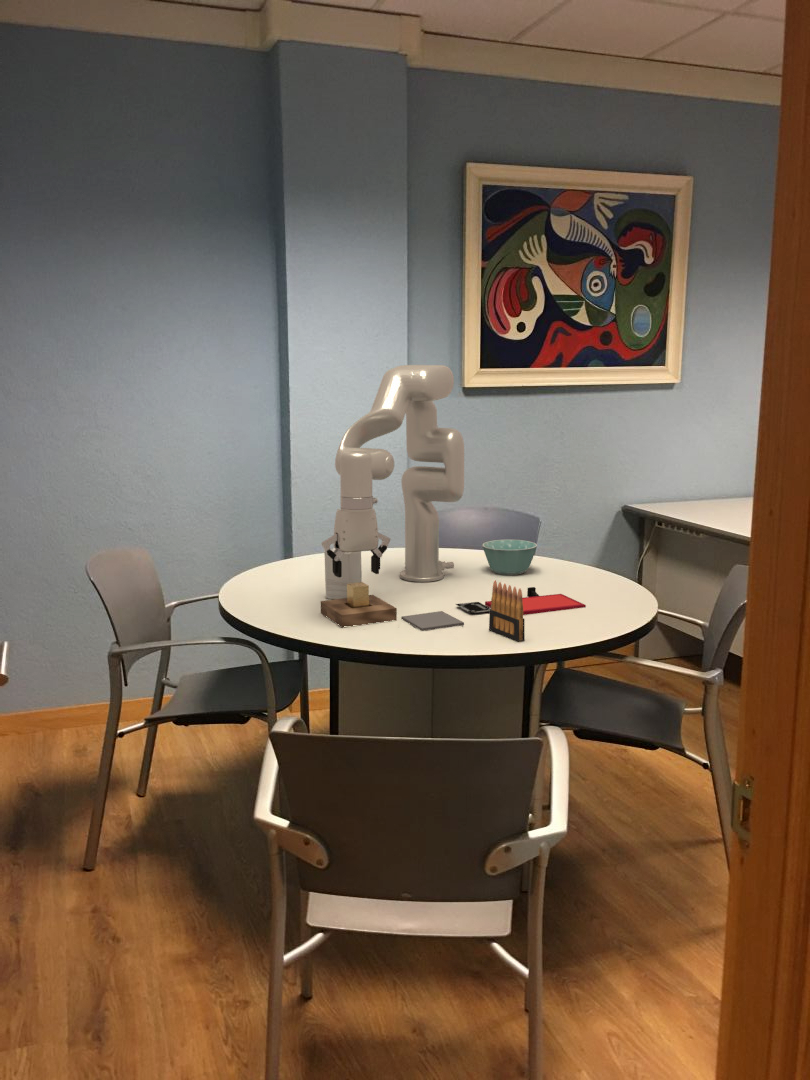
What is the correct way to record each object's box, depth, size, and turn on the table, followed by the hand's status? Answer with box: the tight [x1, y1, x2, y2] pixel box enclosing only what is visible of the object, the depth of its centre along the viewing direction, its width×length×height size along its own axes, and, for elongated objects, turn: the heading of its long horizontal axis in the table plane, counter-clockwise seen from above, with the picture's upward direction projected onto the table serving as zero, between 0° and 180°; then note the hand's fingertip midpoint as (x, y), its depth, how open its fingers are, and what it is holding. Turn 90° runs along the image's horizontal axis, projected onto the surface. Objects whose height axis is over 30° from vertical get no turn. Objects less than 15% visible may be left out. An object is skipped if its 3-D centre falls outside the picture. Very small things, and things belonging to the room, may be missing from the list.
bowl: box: [481, 539, 538, 576], centre depth 269 cm, size 16×16×8 cm
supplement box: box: [323, 547, 363, 600], centre depth 241 cm, size 7×7×13 cm
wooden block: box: [347, 581, 370, 609], centre depth 223 cm, size 4×4×8 cm
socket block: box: [320, 594, 398, 628], centre depth 224 cm, size 14×14×3 cm
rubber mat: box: [400, 610, 465, 632], centre depth 219 cm, size 11×11×1 cm
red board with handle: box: [455, 586, 587, 616], centre depth 233 cm, size 30×3×15 cm
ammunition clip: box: [488, 580, 525, 643], centre depth 207 cm, size 11×2×12 cm, turn 32°
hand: (356, 574), depth 221 cm, fingers open, 9 cm apart
